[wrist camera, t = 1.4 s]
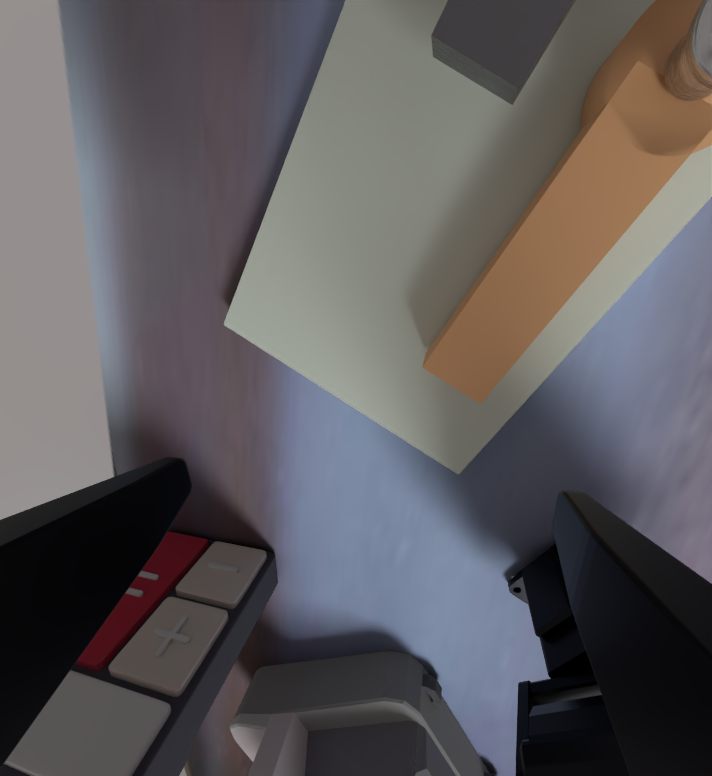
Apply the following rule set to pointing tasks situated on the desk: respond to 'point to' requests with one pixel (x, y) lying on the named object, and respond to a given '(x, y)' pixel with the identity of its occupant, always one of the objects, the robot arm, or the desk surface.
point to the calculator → (152, 665)
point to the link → (579, 204)
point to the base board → (430, 218)
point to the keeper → (533, 35)
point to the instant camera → (352, 720)
